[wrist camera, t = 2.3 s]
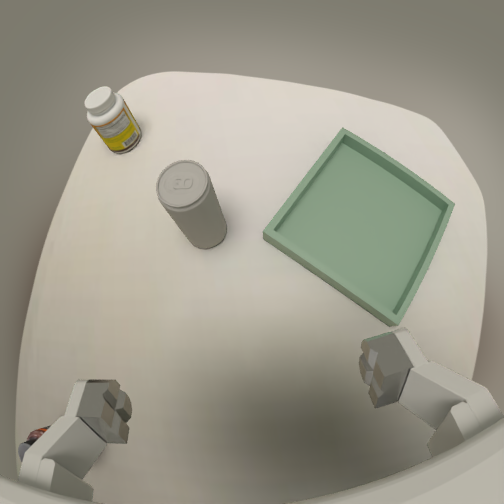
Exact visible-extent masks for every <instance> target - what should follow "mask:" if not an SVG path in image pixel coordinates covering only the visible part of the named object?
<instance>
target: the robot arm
mask: <svg viewBox="0 0 504 504" xmlns="http://www.w3.org/2000/svg"><path fill="white" fill-rule="evenodd" d="M361 349H362V351H363V353H362V355H361V356H360V359H359V367H360V373H361V376H362V379H363V381H364V383H366V384H367V385H369V386H370V388H369V395H370V398H371V400H372V403H373V405H374V407H375V408H378V407H381V406H385V405H388V404H391V403H394V402H397V401H398V403H400V404H401V405H402V406H404V407H405V408H407V409H408V410H409V411H411V412H412V413H413V414H415V415H416V416H418V417H419V418H420V419H422V420H423V421H424V422H426V423H427V424H429V425H430V426H431V427H433V428H434V429H436V432H435V433H434V434H433V436H432V437H431V438H430V440H429V442H428V444H427V446H428V448H429V450H430V453H431V455H432V458H431V459H429V460H426V461H424V462H422V463H420V464H417V465H415V466H413V467H410V468H408V469H405V470H403V471H400V472H398V473H395V474H393V475H390V476H387V477H385V478H382V479H379V480H376V481H373V482H370V483H367V484H364V485H361V486H357V487H354V488H351V489H347V490H344V491H340V492H336V493H332V494H328V495H324V496H320V497H315V498H311V499H306V500H301V501H296V502H290V503H284V504H504V416H503V414H502V412H501V410H500V409H499V407H498V406H497V404H496V402H495V401H494V399H493V397H492V396H491V394H490V392H489V391H488V389H487V388H486V387H484V386H482V385H480V384H478V383H476V382H474V381H472V380H470V379H468V378H466V377H464V376H462V375H460V374H458V373H456V372H454V371H452V370H450V369H448V368H446V367H444V366H442V365H440V364H438V363H436V362H434V361H430V362H428V360H427V359H426V357H425V355H424V354H423V352H422V351H421V349H420V348H419V346H418V344H417V343H416V341H415V340H414V338H413V337H412V335H411V334H410V332H409V331H408V329H406V328H402V329H398V330H395V331H392V332H387V333H384V334H381V335H378V336H374V337H371V338H367V339H364V340H363V341H362V344H361ZM131 415H132V405H131V401H130V398H129V396H128V395H127V394H126V393H125V392H123V391H121V390H120V384H119V383H118V382H117V381H116V380H77V381H76V382H75V384H74V387H73V390H72V393H71V396H70V399H69V403H68V406H67V409H66V412H65V415H64V416H61V417H60V418H59V419H58V420H57V421H56V422H55V423H54V424H53V425H52V426H51V427H50V428H49V429H48V430H47V431H46V432H45V433H44V434H43V435H42V436H41V437H40V438H39V439H38V440H37V441H36V442H35V443H34V444H33V445H32V446H31V447H30V448H29V449H28V450H27V451H26V452H25V454H24V458H23V462H22V465H21V469H20V473H19V477H18V481H15V480H13V479H10V478H7V477H5V476H2V475H0V504H103V503H97V502H92V499H93V490H94V489H93V487H92V486H91V485H89V484H88V483H86V482H85V481H83V480H82V479H83V478H84V476H85V475H86V474H87V472H88V471H89V469H90V468H91V467H92V465H93V464H94V462H95V461H96V459H97V458H98V457H99V455H100V454H101V452H102V451H103V450H104V448H105V447H106V445H107V443H117V444H127V441H128V434H129V426H128V425H127V422H128V420H129V419H130V418H131Z"/></svg>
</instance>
